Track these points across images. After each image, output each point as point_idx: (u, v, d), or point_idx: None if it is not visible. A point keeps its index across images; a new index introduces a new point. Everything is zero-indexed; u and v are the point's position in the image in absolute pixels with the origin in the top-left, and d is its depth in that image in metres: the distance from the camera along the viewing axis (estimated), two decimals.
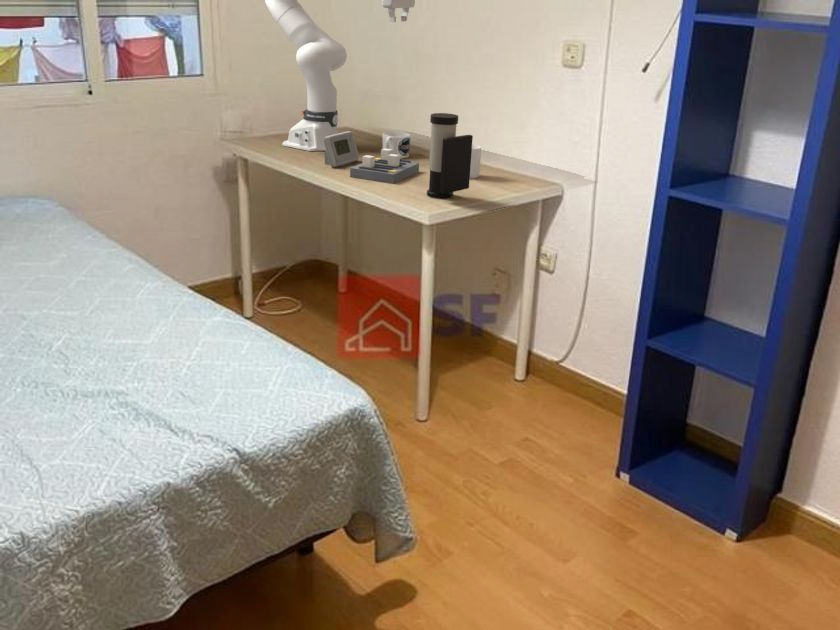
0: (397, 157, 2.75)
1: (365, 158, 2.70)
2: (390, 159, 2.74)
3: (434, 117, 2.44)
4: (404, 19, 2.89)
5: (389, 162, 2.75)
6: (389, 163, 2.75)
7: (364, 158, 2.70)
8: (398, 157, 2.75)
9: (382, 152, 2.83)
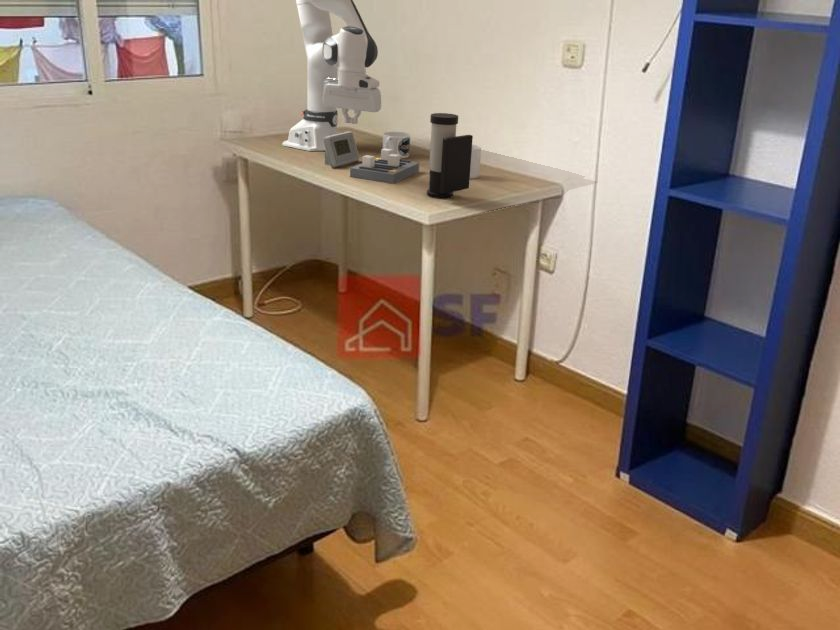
0: (397, 157, 2.75)
1: (365, 158, 2.70)
2: (390, 159, 2.74)
3: (434, 117, 2.44)
4: (350, 120, 2.70)
5: (389, 162, 2.75)
6: (389, 163, 2.75)
7: (364, 158, 2.70)
8: (398, 157, 2.75)
9: (382, 152, 2.83)
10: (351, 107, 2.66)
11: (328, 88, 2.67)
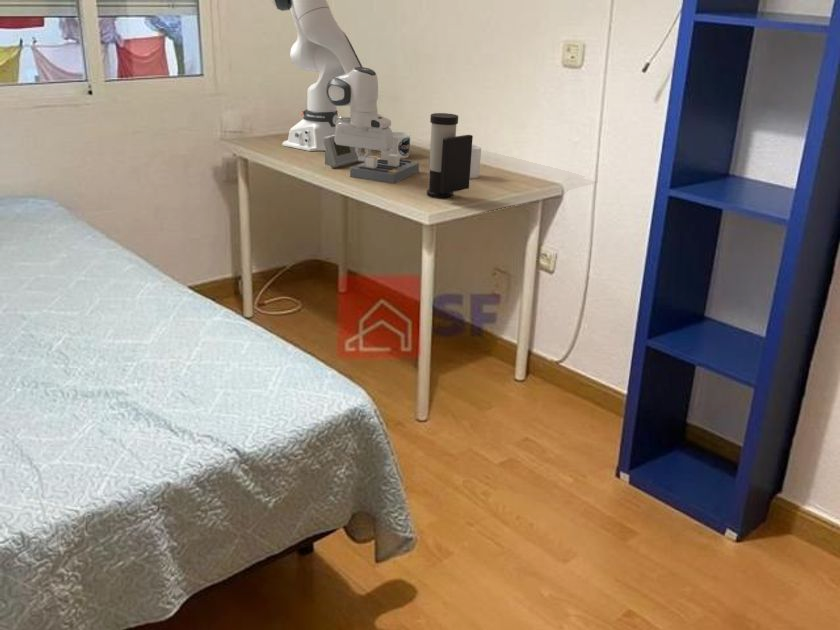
0: (397, 157, 2.75)
1: (368, 158, 2.70)
2: (390, 159, 2.74)
3: (434, 117, 2.44)
4: None
5: (389, 162, 2.75)
6: (389, 163, 2.75)
7: (367, 158, 2.70)
8: (398, 157, 2.75)
9: (382, 152, 2.83)
10: (363, 146, 2.68)
11: (340, 127, 2.69)
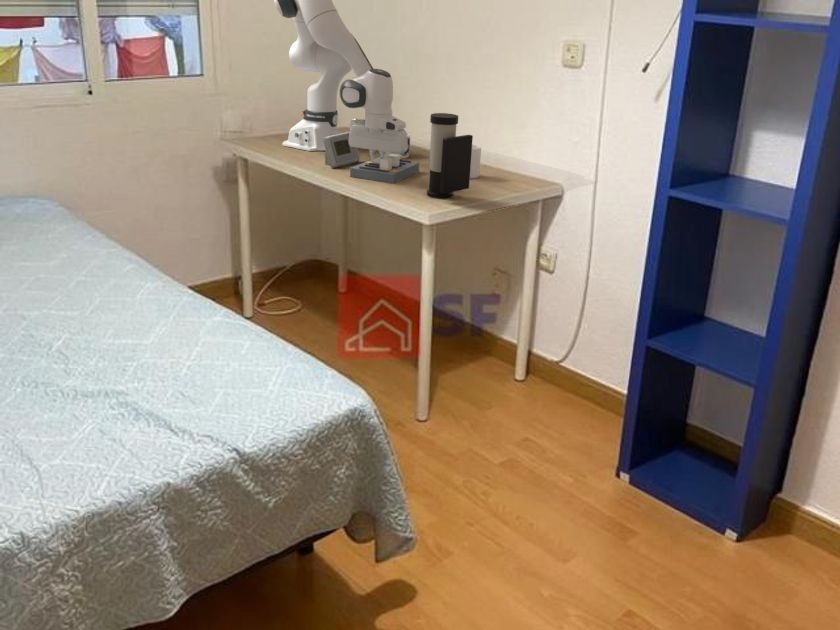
0: (397, 157, 2.75)
1: (382, 161, 2.68)
2: None
3: (434, 117, 2.44)
4: None
5: None
6: None
7: (381, 160, 2.68)
8: (398, 157, 2.75)
9: None
10: (377, 148, 2.67)
11: (355, 129, 2.68)
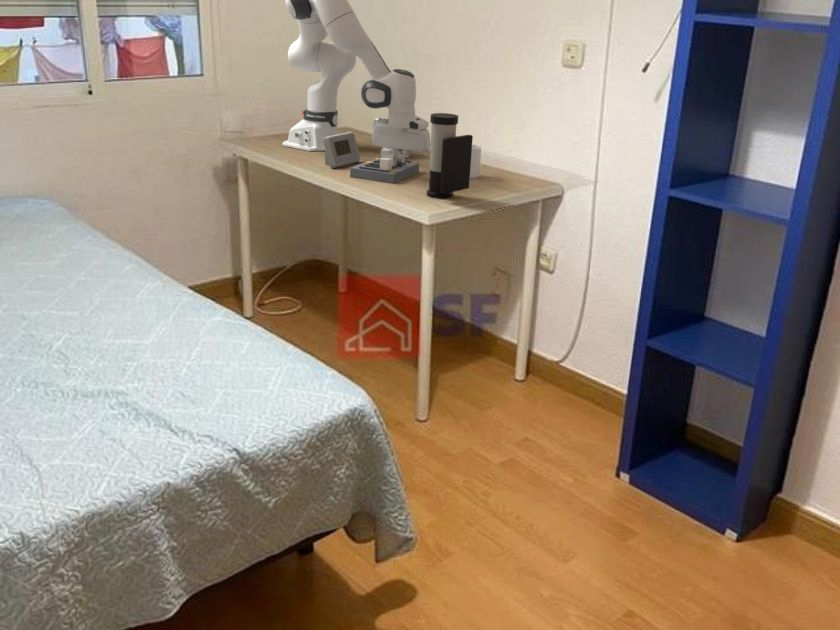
0: (394, 157, 2.75)
1: (382, 160, 2.68)
2: None
3: (434, 117, 2.44)
4: None
5: None
6: None
7: (381, 160, 2.68)
8: None
9: (382, 152, 2.83)
10: (400, 147, 2.71)
11: (378, 128, 2.72)
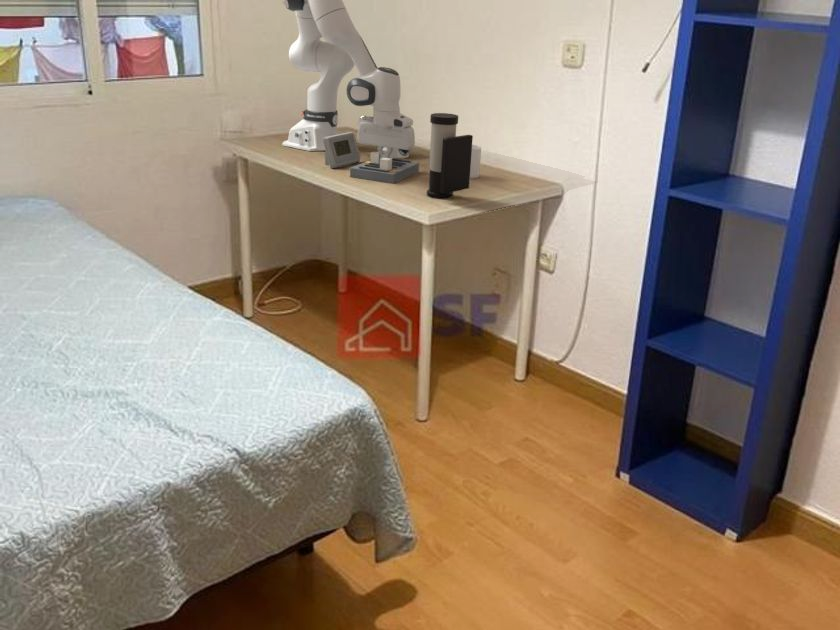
0: None
1: (382, 160, 2.68)
2: (373, 156, 2.77)
3: (434, 117, 2.44)
4: None
5: (372, 160, 2.77)
6: (372, 161, 2.77)
7: (381, 160, 2.68)
8: None
9: None
10: (385, 145, 2.73)
11: (363, 126, 2.74)
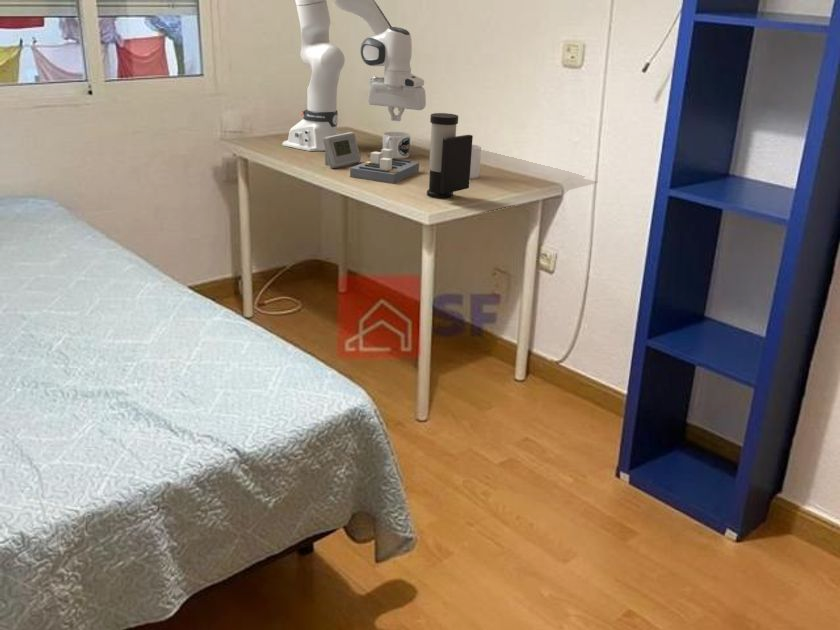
0: (380, 155, 2.77)
1: (382, 160, 2.68)
2: (373, 156, 2.77)
3: (434, 117, 2.44)
4: None
5: (372, 160, 2.77)
6: (372, 161, 2.77)
7: (381, 160, 2.68)
8: (381, 155, 2.78)
9: (382, 152, 2.83)
10: (396, 105, 2.74)
11: (374, 87, 2.75)
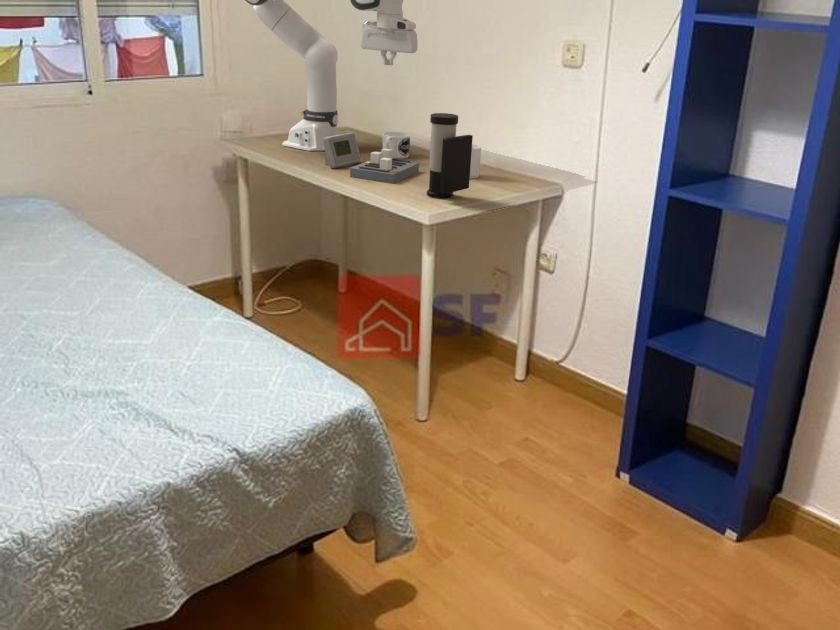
0: (380, 155, 2.77)
1: (382, 160, 2.68)
2: (373, 156, 2.77)
3: (434, 117, 2.44)
4: None
5: (372, 160, 2.77)
6: (372, 161, 2.77)
7: (381, 160, 2.68)
8: (381, 155, 2.78)
9: (382, 152, 2.83)
10: (389, 49, 2.79)
11: (367, 31, 2.79)
